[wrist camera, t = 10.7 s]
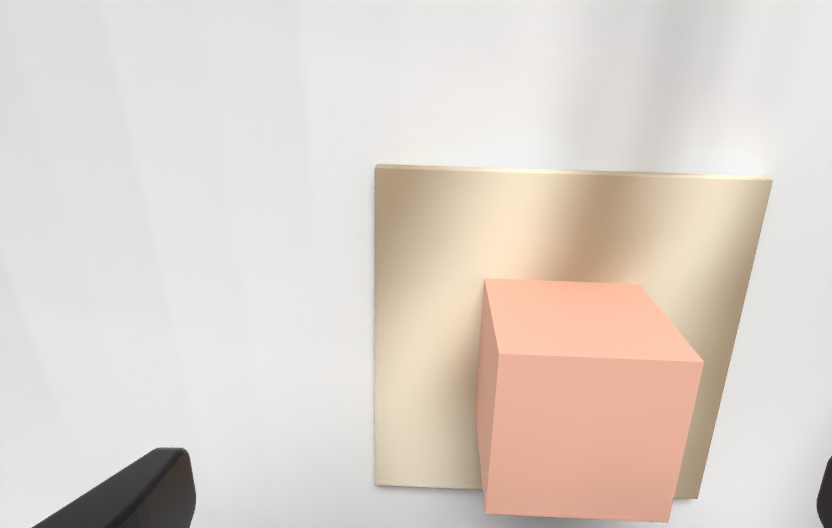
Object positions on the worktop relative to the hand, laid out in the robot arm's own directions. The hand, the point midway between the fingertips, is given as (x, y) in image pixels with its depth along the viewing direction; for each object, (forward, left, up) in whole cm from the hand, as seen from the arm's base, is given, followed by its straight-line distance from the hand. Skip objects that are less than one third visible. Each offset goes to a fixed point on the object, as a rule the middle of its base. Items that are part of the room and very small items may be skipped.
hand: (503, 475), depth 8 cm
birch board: (-3, +4, -12) cm, 13 cm away
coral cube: (-3, +4, -11) cm, 12 cm away
